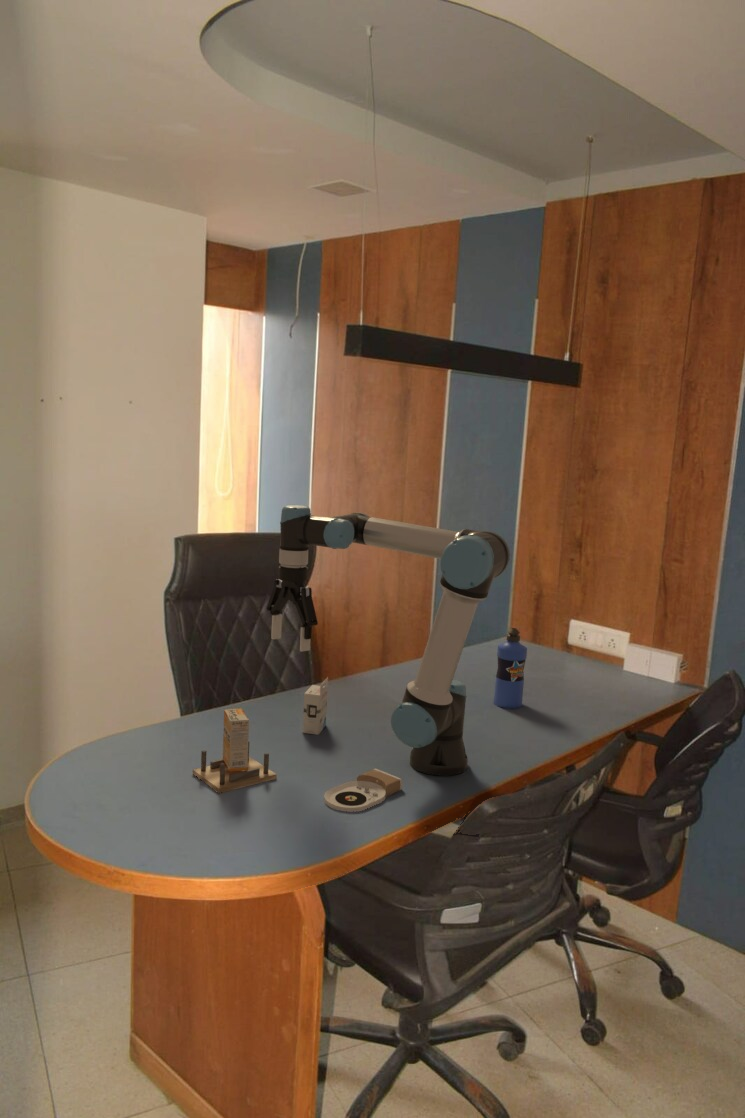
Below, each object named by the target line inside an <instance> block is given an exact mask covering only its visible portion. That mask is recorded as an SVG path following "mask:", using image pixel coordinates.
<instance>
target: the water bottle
mask: <svg viewBox="0 0 745 1118" xmlns="http://www.w3.org/2000/svg"><path fill="white" fill-rule="evenodd" d="M507 633H508V634H506V638H505V639H506V641H505V642H502V643H499V644H497V652H496V653H497V654H496V656H497V670H496V674H495V680H494V681H495V682H494V693H493V694H494V695H493V705H495V706H496V705H497V706H496V707H498V706H499V708H502V707H503V708H502V709H507V708H510V709H509V710H511V709H512V708H513V709H514V708H516V709H519V708H522V706H523V696H524V687H525V686H524V684H525V678H524V677H525V676H524V675H525V674H524V669H525V664H526V659H527V656H528V647H526V646H525V645H524V644H521V642H520V641H521V635H520V633H521V632H520V630H518V629H517V628H516V627H515V628H514V627H511V628H510V629H509V630H508V631H507ZM513 709H512V710H513ZM514 710H515V709H514Z"/></svg>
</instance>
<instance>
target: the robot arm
mask: <svg viewBox="0 0 745 1118" xmlns="http://www.w3.org/2000/svg"><path fill="white" fill-rule="evenodd" d="M279 523H280V538H279V540H280V545H279V552H278V554H279V556H278V563H279V564H280V565H279V566H278V579H277V578H276V579H274V582H273V583H274V584H273V589H272V590H271V595H270V597H269V600H268V603H267V605H266V611H267V612H268V611H269V612H270V615H271V620H270V621H271V631H270V632H271V635H270V636H271V637H270V639H271V640H278V639H282V625H283V624H282V623H283V614H282V611H283V609H284V608H285V606H286V604H287V603H288V601H290V602H292V604H293V605H295V608H296V611H297V613H298V616H299V618H300V621H301V623H302V625H300V633H299V636H300V637H299V652H301V653H302V652H308V651H311V640H312V628H313V627H315V626H318V624H319V623H318V619H317V614H316V613H317V612H316V609H315V606H314V600H313V596H312V595H313V591H312V588H311V587H305V586H304V583H305V582H306V581H308V576H309V575H308V574H309V573H308V572H309V567H308V566H307V565H308V564H309V550H310V548H309V547H310V546H317V547H325V548H329V549H333V550H337V549H339V550H345V549H348V548H349V547H350V546H351V545H352V544H353V543H354V544H360V545H365V546H371V547H377V548H382V549H387V550H391V551H392V550H393V551H395V552H396V551H397V552H403V553H407V554H413V555H418V556H423V557H428V558H433V559H437V560H438V559H439V560H440V561H439V562H440V565H439V566H440V570H441V573H442V574H441V577H440V581H439V585H440V588H441V589H442V591H443V592H442V594H441V595H442V596H441V598H440V602H439V605H438V608H437V611H436V614H435V618H434V620H433V623H432V626H431V630H430V633H429V636H428V639H427V641H426V646H425V649H424V651H423V655H422V658H421V661H420V664H419V667H418V671H417V672H416V673H417V674H416V677H415V679H414V680H412V681H409V682H408V683H407V685H406V687H405V690H404V694H403V697H402V701H401V703H399V704H397V705H396V707H394V709H393V711H392V713H391V715H390V724H391V725H390V726H391V728H392V731H393V733H394V734H395V737H396V738H397V739H398V740H399V741H400V743H402V744H404V745H405V746H408V747H410V748H412V749H411V751H410V755H409V765H410V766H411V767H412V768H413V769H415V770H416V771H418V772H421V773H423V774H429V775H432V776H433V775H434V776H442V777H443V776H444V777H445V776H455V775H460V774H461V773H464V772H465V771H467V769H468V761H469V760H468V755H467V754H466V748H465V744H464V743H465V742H464V738H463V737H464V727H465V726H464V723H465V714H466V713H465V712H466V711H465V710H466V702H467V701H466V699H467V687H466V685H465V684H464V683H463V682H461V681H459V680H456V679H454V677H455V675H456V671H457V667H458V664H459V662H460V659H461V655H462V653H463V651H464V650H463V649H464V647H465V643H466V640H467V637H468V634H469V632H470V629H471V626H472V622H473V619H474V616H475V613H476V611H477V608H478V605H479V603H480V602H481V601H484V600H486V599H487V597H488V595H489V592H490V590H491V589H490V588H491V586H492V584H493V580H494V579H495V578H497V577H499V576H500V575H501V574H503V573H504V572H505V571H506V569H507V567H508V566H509V564H510V563H509V562H510V560H511V559H510V557H511V554H510V553H511V552H510V547H509V545H508V543H507V541H506V540H505V538H503V537H502V536H501V535H500V534H497V533H496V532H493V531H487V530H476V529H474V530H473V529H467V528H463V529H461V531H455V530H449V529H443V528H439V527H431V526H426V525H421V524H415V523H408V522H402V521H398V520H392V519H386V518H385V519H384V518H379V517H374V516H369V515H367V514H366V513H362V512H352V513H348V514H342V515H335V516H330V517H329V516H328V517H327V516H318V515H312V511H311V508H310V507H309V506H306V505H296V504H294V505H293V504H292V505H291V504H290V505H285V506H283V507H282V509H281V514H280V522H279Z"/></svg>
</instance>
